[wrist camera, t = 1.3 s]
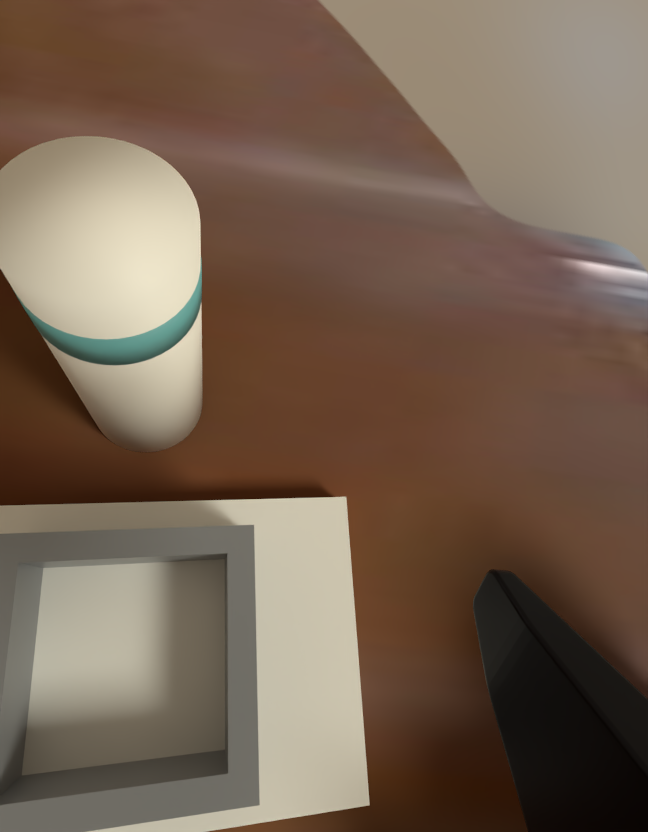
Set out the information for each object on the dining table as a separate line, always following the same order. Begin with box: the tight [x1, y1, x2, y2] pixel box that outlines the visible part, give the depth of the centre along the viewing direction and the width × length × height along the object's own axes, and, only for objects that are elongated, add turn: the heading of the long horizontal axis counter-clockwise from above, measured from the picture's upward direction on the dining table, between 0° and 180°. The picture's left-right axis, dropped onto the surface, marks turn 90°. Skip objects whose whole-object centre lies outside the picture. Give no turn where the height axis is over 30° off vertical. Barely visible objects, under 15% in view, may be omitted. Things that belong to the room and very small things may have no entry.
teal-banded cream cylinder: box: [0, 136, 202, 452], centre depth 19 cm, size 5×5×13 cm
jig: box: [0, 497, 370, 832], centre depth 19 cm, size 12×18×4 cm, turn 94°
